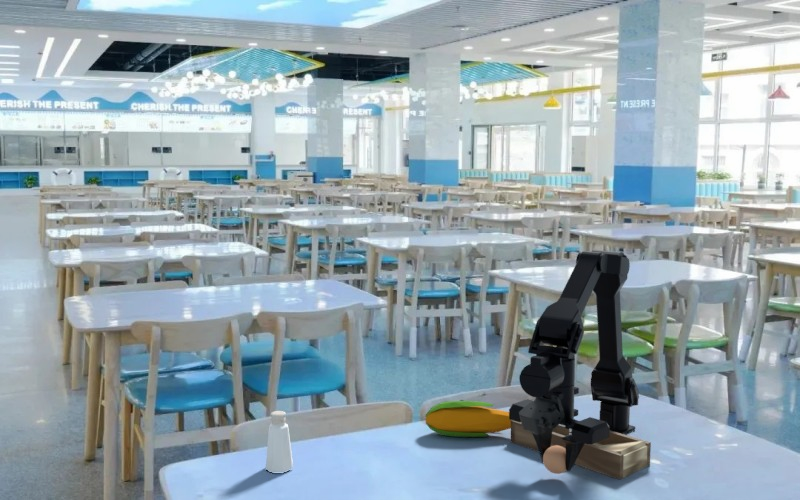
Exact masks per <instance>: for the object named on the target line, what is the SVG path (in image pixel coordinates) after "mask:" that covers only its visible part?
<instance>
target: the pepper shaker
mask: <svg viewBox="0 0 800 500" xmlns="http://www.w3.org/2000/svg"><path fill="white" fill-rule="evenodd" d="M286 414H287V413H286V412H285V411H283V410H274V411H271V413H270V421H271V423H270V425H269V426H268V433H267V445H266V458H265V459H266V461H265V470H266V469H267V470H269V471H271V472H284V471H287V470H289V469H291V468H292V467H293V468H294V461H293V453H292V446H291V445H292V444H291V439H290V438H291V437H290V430H289V424H288V423H286Z"/></svg>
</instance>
